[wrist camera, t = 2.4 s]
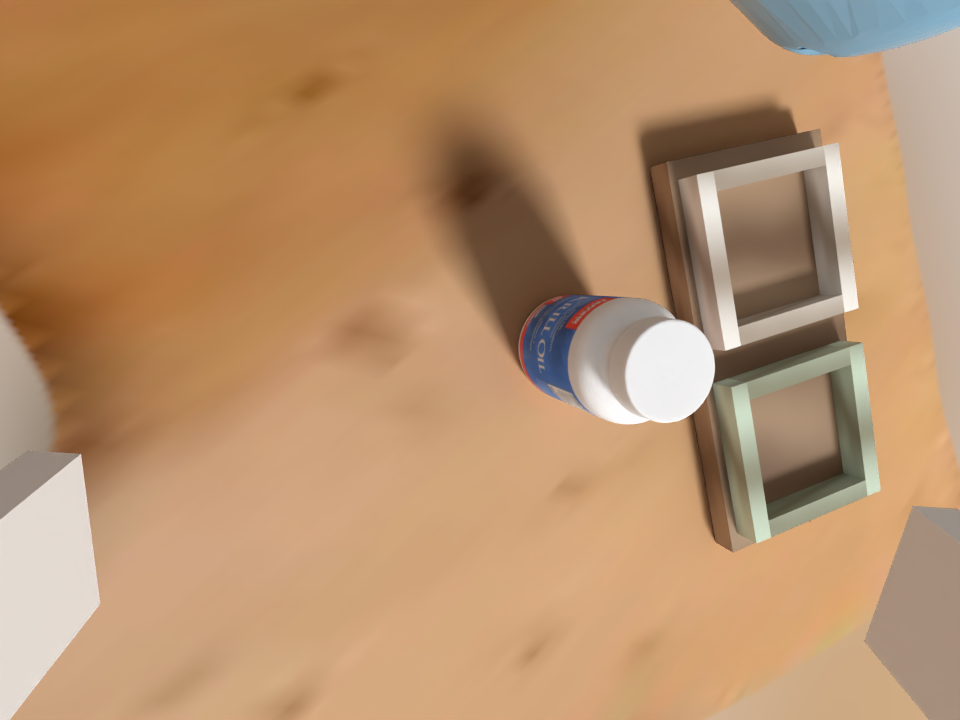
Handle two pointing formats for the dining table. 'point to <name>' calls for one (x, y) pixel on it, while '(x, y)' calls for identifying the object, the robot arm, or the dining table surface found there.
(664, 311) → the pill bottle
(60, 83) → the dining table surface
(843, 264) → the board
